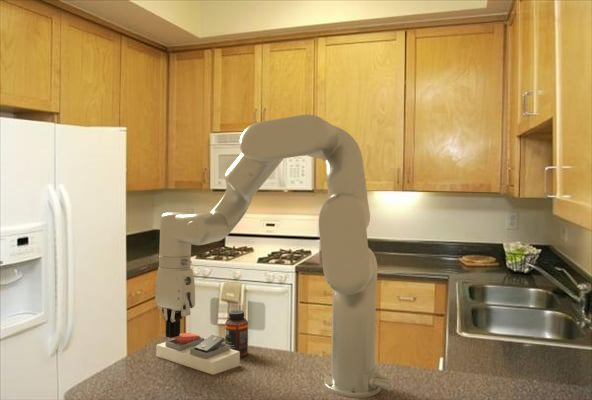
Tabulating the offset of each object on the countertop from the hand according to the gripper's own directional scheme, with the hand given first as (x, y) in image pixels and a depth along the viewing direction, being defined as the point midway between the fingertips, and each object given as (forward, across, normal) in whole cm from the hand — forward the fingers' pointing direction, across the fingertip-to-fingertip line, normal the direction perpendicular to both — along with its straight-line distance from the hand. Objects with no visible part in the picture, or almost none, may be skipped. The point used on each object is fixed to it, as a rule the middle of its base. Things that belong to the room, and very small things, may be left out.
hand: (172, 336), depth 114 cm
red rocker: (+2, 0, -4) cm, 4 cm away
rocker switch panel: (+7, -5, -4) cm, 9 cm away
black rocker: (+1, -10, -3) cm, 10 cm away
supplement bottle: (+7, -8, -14) cm, 18 cm away
